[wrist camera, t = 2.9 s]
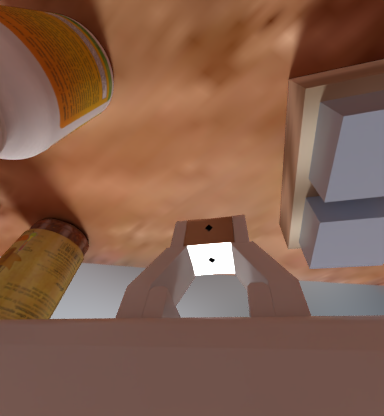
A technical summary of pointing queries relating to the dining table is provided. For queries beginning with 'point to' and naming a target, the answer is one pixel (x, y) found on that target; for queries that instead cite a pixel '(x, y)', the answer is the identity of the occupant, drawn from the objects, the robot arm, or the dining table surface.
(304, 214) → the tile
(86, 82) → the supplement bottle
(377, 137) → the tile
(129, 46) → the dining table surface
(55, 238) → the sauce bottle
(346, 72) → the board
